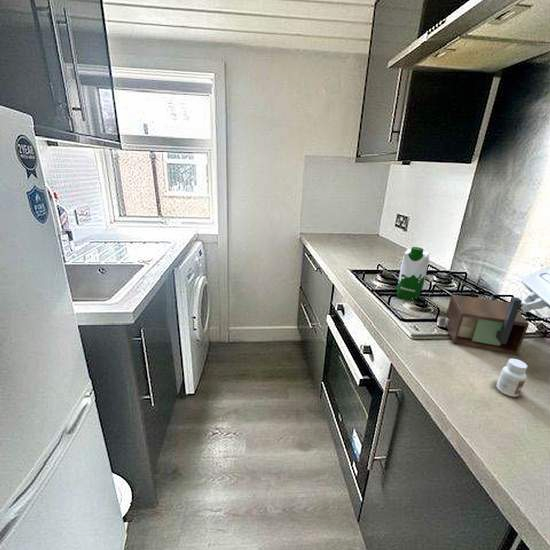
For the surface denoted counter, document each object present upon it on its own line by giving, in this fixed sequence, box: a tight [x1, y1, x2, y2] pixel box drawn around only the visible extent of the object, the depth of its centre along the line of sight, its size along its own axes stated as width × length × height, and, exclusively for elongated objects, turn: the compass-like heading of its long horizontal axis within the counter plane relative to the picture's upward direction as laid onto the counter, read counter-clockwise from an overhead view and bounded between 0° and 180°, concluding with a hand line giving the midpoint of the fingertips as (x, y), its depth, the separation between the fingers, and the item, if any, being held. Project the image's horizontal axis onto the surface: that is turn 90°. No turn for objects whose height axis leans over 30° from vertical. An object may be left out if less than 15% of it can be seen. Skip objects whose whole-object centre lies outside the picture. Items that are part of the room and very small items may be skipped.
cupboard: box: [445, 293, 530, 356], centre depth 90 cm, size 16×14×10 cm
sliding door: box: [472, 296, 522, 346], centre depth 82 cm, size 7×4×16 cm, turn 72°
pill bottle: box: [496, 358, 528, 397], centre depth 69 cm, size 4×4×8 cm
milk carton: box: [396, 246, 430, 303], centre depth 115 cm, size 9×9×20 cm
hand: (520, 308), depth 78 cm, fingers closed, pressing on sliding door
